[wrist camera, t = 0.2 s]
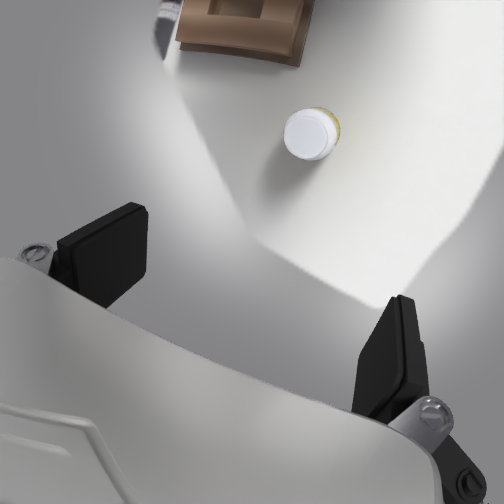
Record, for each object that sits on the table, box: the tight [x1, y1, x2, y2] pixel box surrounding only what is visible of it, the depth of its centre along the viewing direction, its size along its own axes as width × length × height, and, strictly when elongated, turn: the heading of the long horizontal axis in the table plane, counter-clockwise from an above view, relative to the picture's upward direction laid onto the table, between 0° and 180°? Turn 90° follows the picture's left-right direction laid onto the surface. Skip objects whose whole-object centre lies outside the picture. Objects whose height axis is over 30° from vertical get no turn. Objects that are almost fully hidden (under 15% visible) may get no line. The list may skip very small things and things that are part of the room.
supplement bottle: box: [283, 108, 340, 161], centre depth 31 cm, size 5×5×10 cm
